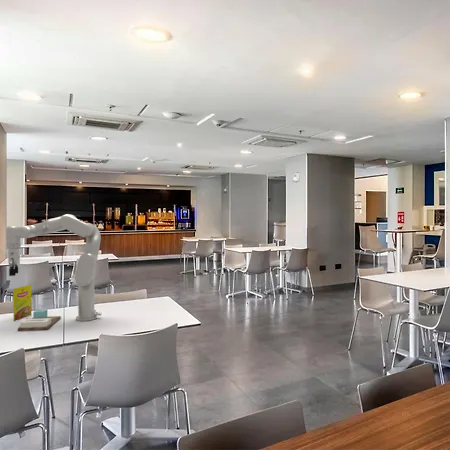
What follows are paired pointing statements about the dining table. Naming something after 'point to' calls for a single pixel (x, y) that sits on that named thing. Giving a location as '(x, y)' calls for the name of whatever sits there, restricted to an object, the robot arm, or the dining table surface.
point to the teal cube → (40, 314)
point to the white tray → (35, 322)
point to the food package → (22, 302)
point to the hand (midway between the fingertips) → (13, 274)
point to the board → (53, 321)
